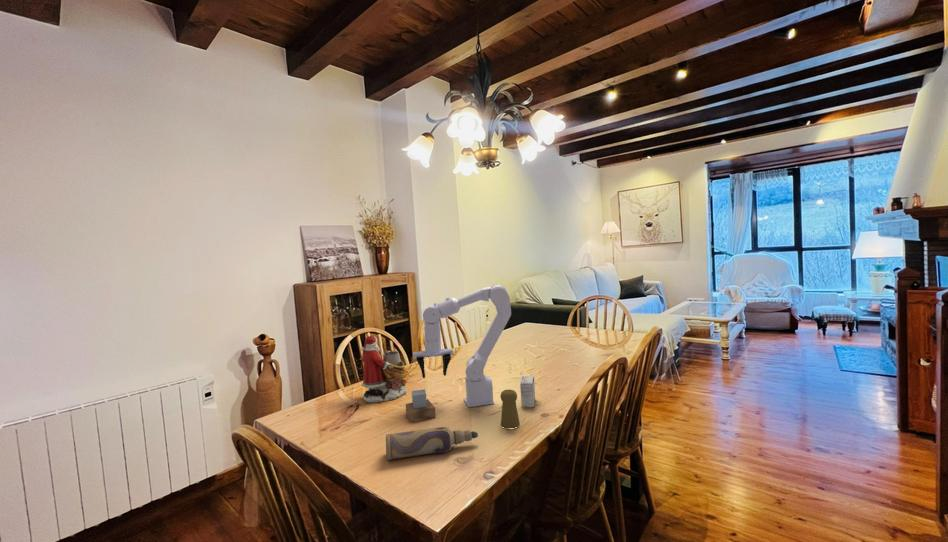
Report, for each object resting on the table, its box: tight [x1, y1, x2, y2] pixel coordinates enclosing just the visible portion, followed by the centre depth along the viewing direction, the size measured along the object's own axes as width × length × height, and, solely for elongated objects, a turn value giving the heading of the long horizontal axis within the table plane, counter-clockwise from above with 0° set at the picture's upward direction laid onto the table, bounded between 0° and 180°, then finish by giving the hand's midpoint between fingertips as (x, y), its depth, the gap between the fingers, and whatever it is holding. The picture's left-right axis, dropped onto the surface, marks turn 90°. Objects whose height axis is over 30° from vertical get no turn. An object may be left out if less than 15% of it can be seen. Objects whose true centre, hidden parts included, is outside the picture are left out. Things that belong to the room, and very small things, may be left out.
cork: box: [500, 389, 521, 429], centre depth 123 cm, size 6×6×11 cm
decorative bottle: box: [385, 426, 479, 461], centre depth 110 cm, size 26×8×7 cm, turn 101°
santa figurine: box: [360, 335, 407, 404], centre depth 154 cm, size 17×14×25 cm
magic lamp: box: [401, 356, 418, 384], centre depth 170 cm, size 7×18×11 cm, turn 94°
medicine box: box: [519, 375, 536, 408], centre depth 140 cm, size 8×4×9 cm, turn 168°
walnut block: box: [405, 398, 436, 424], centre depth 134 cm, size 8×8×4 cm
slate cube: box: [411, 389, 427, 409], centre depth 134 cm, size 4×4×4 cm
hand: (434, 376), depth 143 cm, fingers open, 7 cm apart
